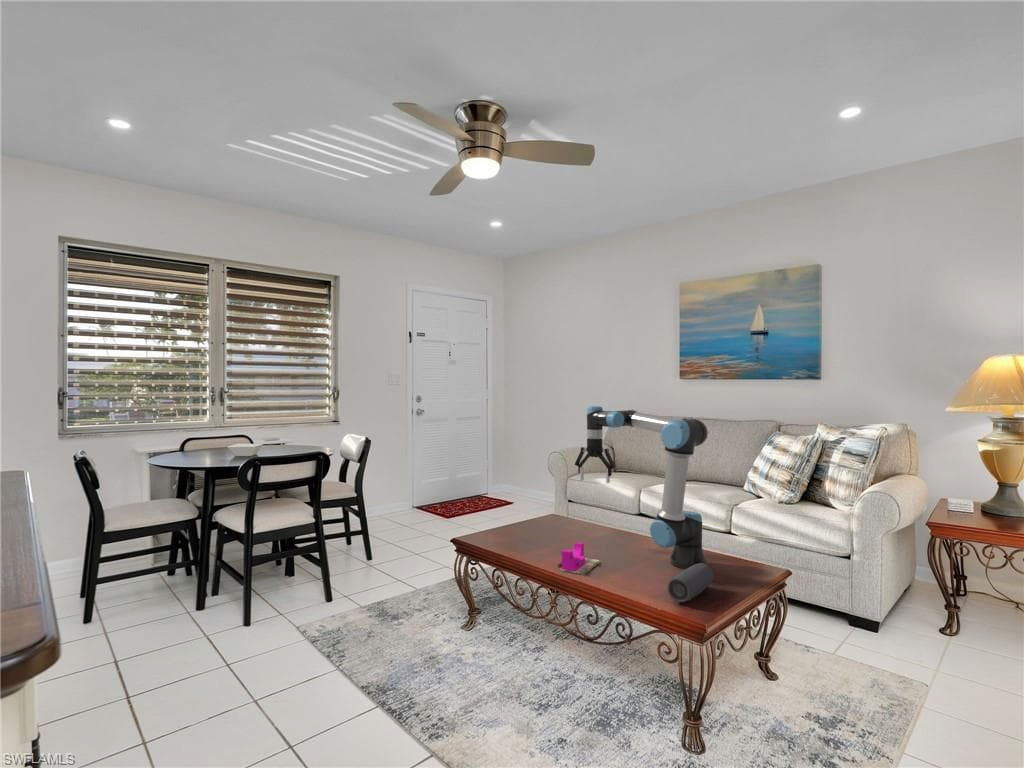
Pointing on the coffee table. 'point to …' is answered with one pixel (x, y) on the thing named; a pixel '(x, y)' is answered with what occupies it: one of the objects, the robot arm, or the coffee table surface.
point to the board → (585, 568)
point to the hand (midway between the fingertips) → (594, 481)
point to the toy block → (573, 557)
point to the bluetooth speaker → (690, 582)
